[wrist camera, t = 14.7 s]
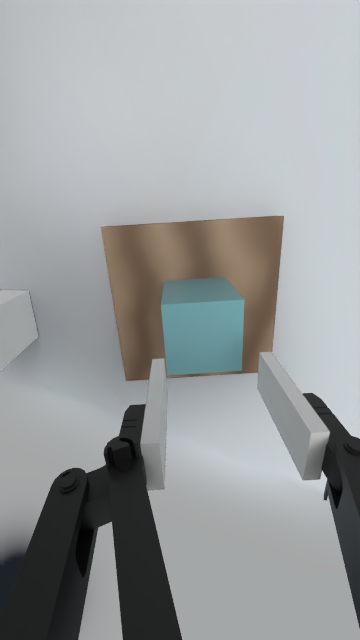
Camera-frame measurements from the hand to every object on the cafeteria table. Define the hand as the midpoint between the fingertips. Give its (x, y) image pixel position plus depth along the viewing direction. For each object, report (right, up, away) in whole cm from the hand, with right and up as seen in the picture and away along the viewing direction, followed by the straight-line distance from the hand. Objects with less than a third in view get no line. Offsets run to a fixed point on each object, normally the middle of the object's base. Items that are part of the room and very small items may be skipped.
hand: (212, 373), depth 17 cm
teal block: (0, +5, +12) cm, 13 cm away
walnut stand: (0, +6, +14) cm, 15 cm away
